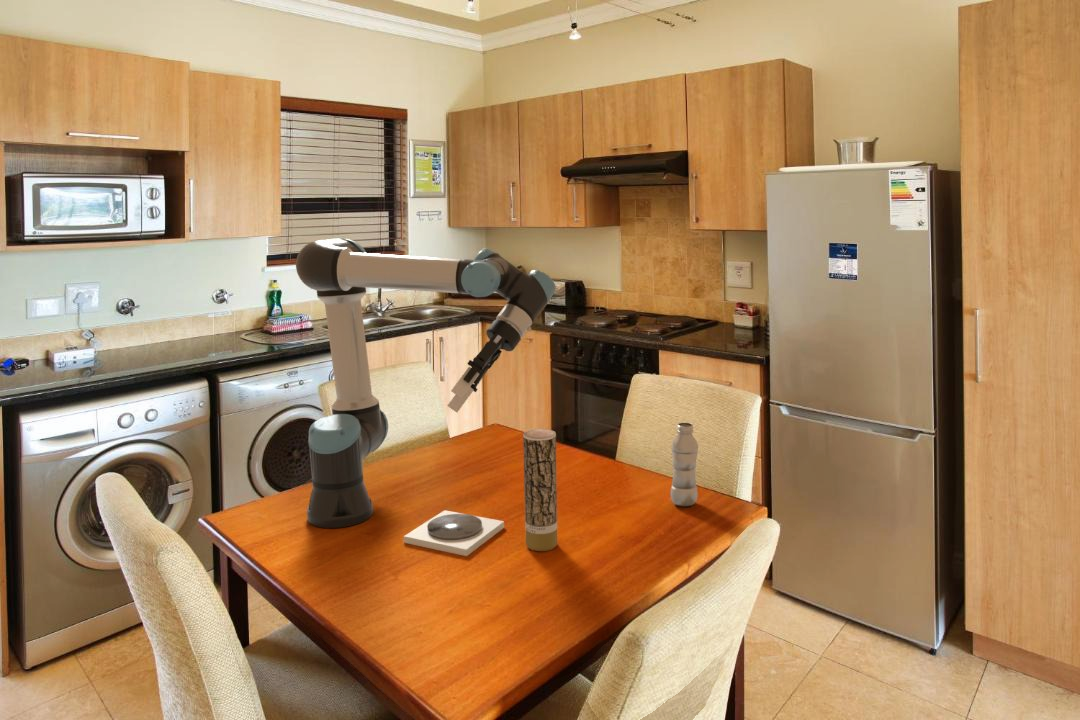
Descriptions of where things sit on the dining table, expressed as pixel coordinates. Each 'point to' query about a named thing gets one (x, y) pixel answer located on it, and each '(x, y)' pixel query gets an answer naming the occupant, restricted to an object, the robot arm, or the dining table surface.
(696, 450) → the plastic bottle
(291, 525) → the dining table surface
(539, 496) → the paper tube
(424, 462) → the dining table surface
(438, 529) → the domed button base
